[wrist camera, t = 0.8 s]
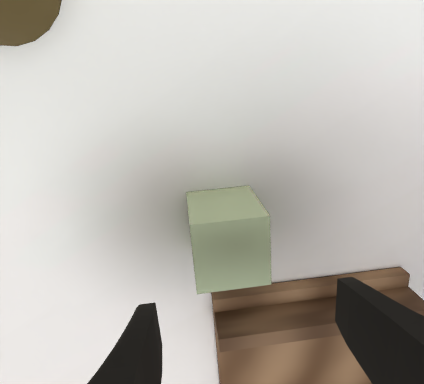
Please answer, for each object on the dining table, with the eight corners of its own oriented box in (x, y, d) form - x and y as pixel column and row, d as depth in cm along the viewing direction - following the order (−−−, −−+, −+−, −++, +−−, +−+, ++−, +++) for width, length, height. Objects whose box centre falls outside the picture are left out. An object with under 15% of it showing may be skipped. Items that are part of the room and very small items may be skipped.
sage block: (248, 185, 21) (269, 216, 16) (251, 241, 22) (271, 284, 18) (186, 192, 21) (189, 225, 16) (192, 248, 22) (196, 294, 17)
